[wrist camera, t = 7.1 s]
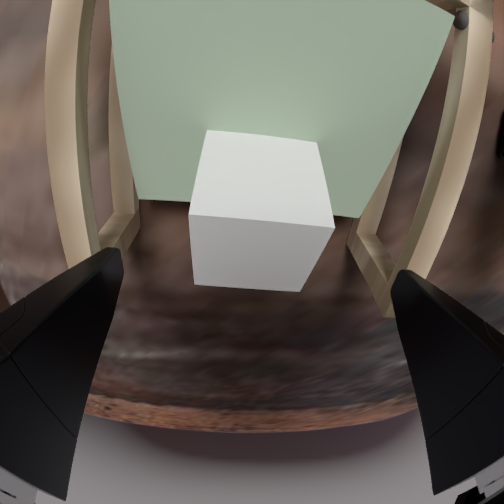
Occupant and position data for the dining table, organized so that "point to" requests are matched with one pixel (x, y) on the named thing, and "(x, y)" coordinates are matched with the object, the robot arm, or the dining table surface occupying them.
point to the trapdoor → (272, 83)
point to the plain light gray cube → (258, 212)
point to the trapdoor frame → (363, 228)
